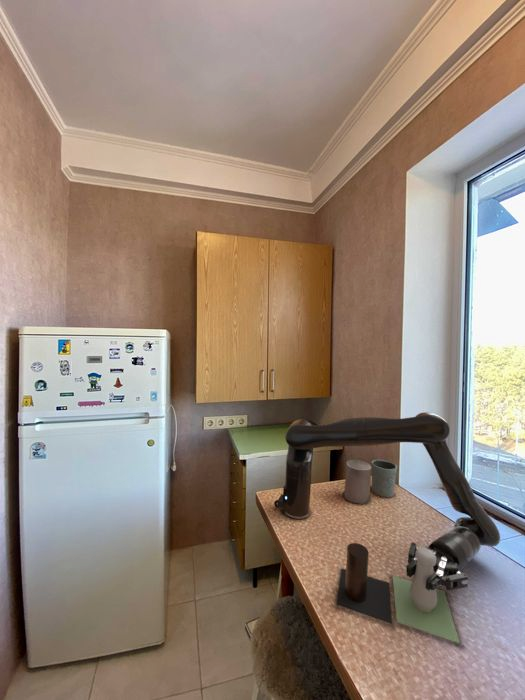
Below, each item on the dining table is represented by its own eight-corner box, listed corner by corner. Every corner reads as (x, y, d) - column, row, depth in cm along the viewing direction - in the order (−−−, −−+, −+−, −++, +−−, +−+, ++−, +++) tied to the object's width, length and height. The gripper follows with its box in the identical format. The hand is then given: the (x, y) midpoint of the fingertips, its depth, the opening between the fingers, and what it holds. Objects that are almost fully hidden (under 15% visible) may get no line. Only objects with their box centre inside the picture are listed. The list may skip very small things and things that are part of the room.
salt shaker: (440, 619, 66) (444, 562, 66) (413, 613, 68) (416, 558, 67) (431, 597, 72) (434, 545, 72) (406, 592, 73) (409, 541, 73)
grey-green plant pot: (383, 500, 118) (385, 470, 118) (364, 488, 127) (366, 461, 127) (400, 495, 123) (402, 466, 122) (381, 484, 132) (382, 457, 131)
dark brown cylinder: (344, 598, 71) (346, 553, 70) (345, 582, 76) (348, 540, 75) (365, 605, 69) (368, 559, 69) (366, 589, 74) (368, 546, 73)
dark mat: (336, 607, 69) (336, 604, 69) (341, 570, 80) (341, 568, 80) (391, 626, 65) (392, 623, 65) (389, 585, 76) (389, 582, 76)
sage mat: (396, 624, 65) (396, 621, 65) (392, 577, 79) (392, 575, 79) (459, 645, 61) (459, 643, 61) (444, 593, 74) (444, 590, 74)
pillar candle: (357, 490, 125) (359, 455, 125) (374, 501, 117) (376, 464, 116) (339, 494, 121) (341, 458, 121) (356, 506, 112) (358, 467, 112)
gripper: (425, 523, 84) (390, 545, 74) (484, 554, 72) (452, 585, 62) (423, 549, 84) (388, 574, 74) (482, 584, 72) (450, 619, 62)
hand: (417, 578), depth 68 cm, fingers open, 3 cm apart
